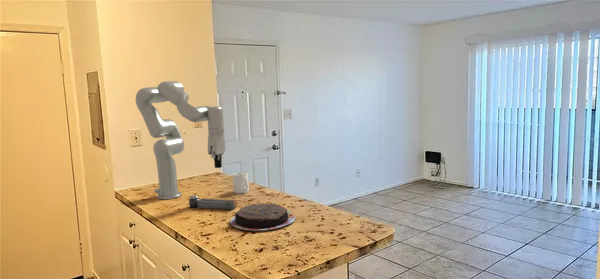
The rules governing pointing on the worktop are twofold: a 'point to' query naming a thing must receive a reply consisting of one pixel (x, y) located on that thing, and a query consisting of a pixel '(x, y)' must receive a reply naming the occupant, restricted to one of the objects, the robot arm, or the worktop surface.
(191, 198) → the tong arm
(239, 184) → the cup
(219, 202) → the base
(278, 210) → the chocolate cake
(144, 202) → the worktop surface
